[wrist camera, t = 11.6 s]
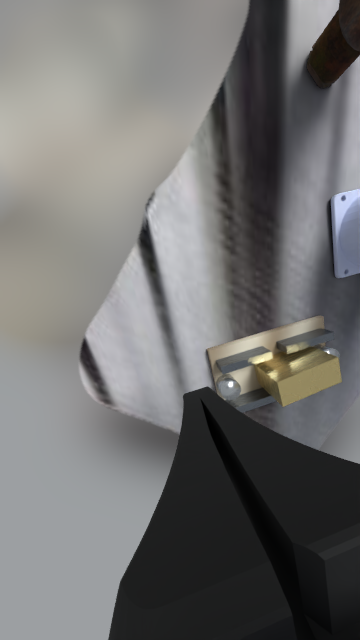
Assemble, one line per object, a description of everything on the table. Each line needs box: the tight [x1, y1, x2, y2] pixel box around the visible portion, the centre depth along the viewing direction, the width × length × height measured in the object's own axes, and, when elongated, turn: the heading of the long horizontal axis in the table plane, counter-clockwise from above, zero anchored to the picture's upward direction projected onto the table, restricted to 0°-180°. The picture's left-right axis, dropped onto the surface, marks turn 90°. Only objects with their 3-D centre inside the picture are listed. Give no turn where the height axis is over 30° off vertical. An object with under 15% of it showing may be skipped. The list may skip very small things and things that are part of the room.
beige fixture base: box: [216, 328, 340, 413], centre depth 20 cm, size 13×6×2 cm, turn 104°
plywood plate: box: [207, 315, 326, 400], centre depth 21 cm, size 13×8×1 cm, turn 104°
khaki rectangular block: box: [254, 346, 342, 407], centre depth 19 cm, size 6×3×4 cm, turn 108°
